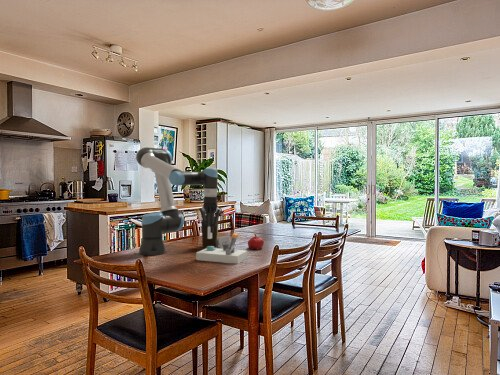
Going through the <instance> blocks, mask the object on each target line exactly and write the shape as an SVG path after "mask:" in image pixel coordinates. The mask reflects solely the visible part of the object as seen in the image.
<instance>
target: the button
mask: <svg viewBox="0 0 500 375" xmlns="http://www.w3.org/2000/svg"><path fill="white" fill-rule="evenodd" d="M214 248H215V247H214V246H207V251H214Z"/></svg>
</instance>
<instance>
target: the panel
mask: <svg viewBox="0 0 500 375" xmlns="http://www.w3.org/2000/svg"><path fill="white" fill-rule="evenodd" d="M195 257H196V259H195V260H196V261H203V262H204V261H205V262H214V263H225V264H236V265H238V264H241V262H243V261H245V260H246V259H248V250H242V249H241V250H240V249H235V247H234V248H233V251H232V252H231V249H226V250H223V249H219V248H217V247H214V251H207V248H204V249H202V250H199V251H197V252H196V253H195Z"/></svg>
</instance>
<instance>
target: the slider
mask: <svg viewBox="0 0 500 375" xmlns="http://www.w3.org/2000/svg"><path fill="white" fill-rule="evenodd" d="M226 249H229V244H224V245H223V250H226Z"/></svg>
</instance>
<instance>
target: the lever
mask: <svg viewBox="0 0 500 375" xmlns="http://www.w3.org/2000/svg"><path fill="white" fill-rule="evenodd" d="M239 234H240V233H237V232H234V233H232V235H231V239H230V246H229V249H231V252H232V251H233V248H234V249H235V244H236V241H237V238H239Z"/></svg>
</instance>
